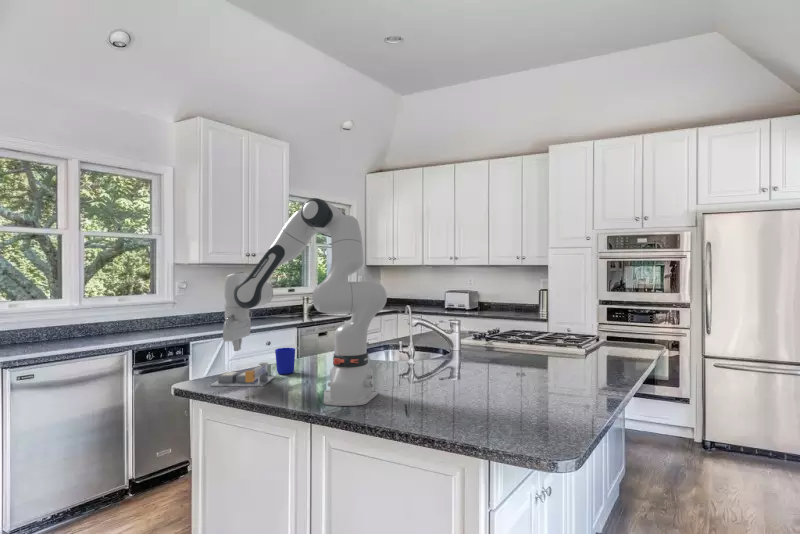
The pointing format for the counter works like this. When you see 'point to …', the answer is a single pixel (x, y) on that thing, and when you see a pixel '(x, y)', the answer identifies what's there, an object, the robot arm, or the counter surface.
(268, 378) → the chassis plate
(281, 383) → the counter surface
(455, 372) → the counter surface
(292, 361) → the mug
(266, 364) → the swing arm
